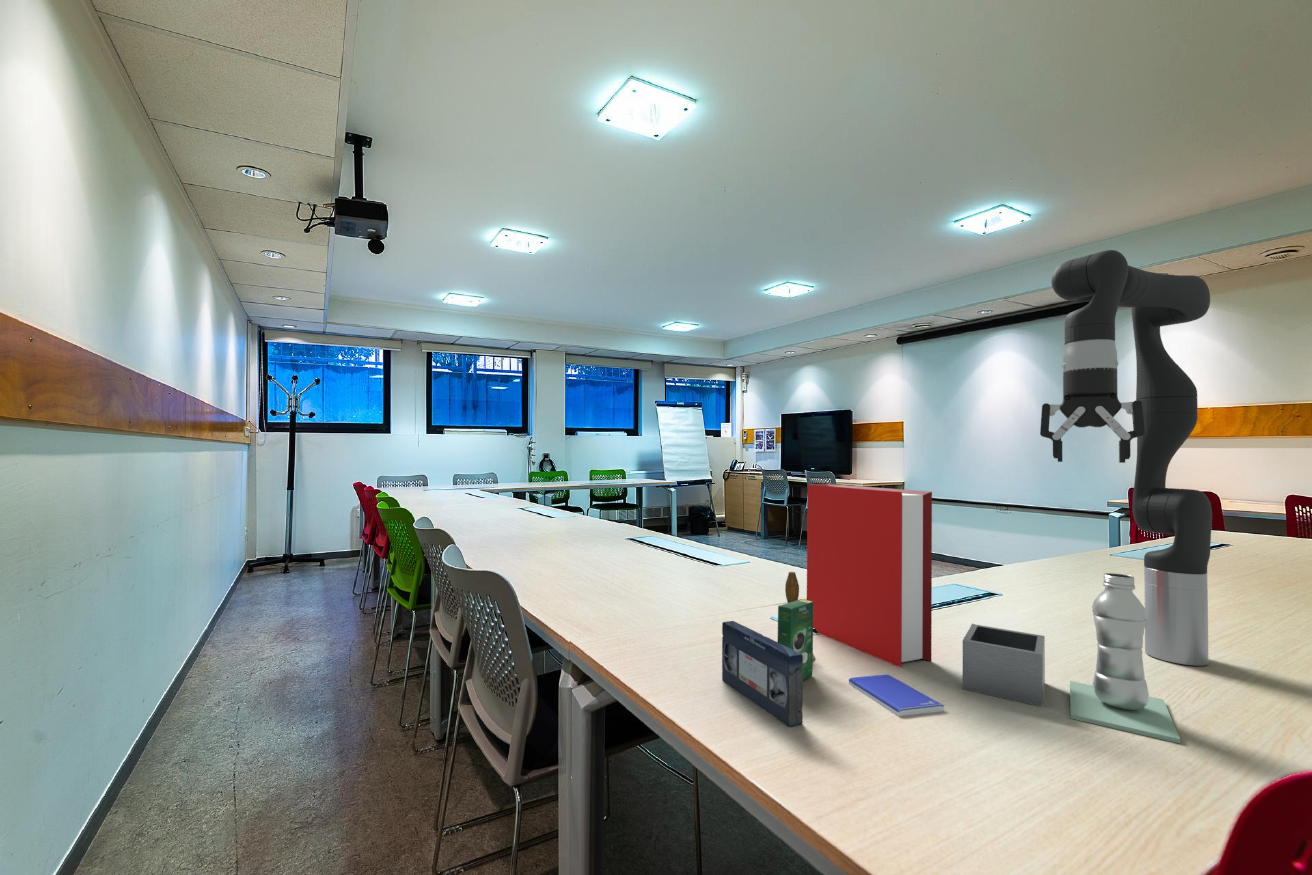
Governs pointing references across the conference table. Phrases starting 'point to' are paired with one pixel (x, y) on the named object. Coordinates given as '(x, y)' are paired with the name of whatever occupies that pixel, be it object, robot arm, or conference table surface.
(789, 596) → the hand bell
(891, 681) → the hard drive
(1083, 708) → the mat
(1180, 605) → the robot arm
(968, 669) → the sleeve
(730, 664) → the vhs cassette tape
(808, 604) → the coffee box
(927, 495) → the book
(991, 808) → the conference table surface
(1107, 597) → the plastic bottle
